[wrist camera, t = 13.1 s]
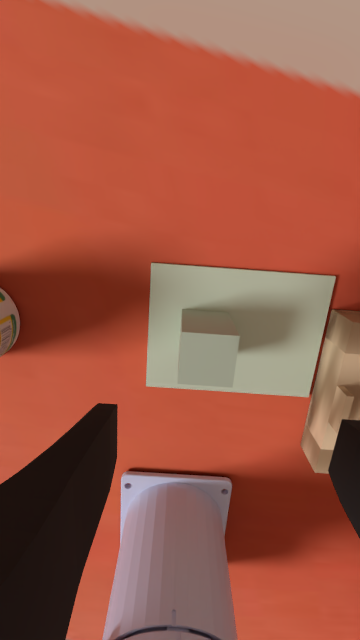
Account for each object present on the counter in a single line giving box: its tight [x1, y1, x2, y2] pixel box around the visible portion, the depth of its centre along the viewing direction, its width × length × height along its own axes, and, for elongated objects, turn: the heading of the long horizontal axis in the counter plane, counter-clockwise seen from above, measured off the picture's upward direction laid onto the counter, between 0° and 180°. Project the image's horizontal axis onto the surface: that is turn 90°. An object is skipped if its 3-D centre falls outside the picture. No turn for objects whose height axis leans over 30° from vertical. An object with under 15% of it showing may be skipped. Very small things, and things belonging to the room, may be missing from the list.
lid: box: [146, 262, 336, 397], centre depth 18 cm, size 8×11×5 cm
